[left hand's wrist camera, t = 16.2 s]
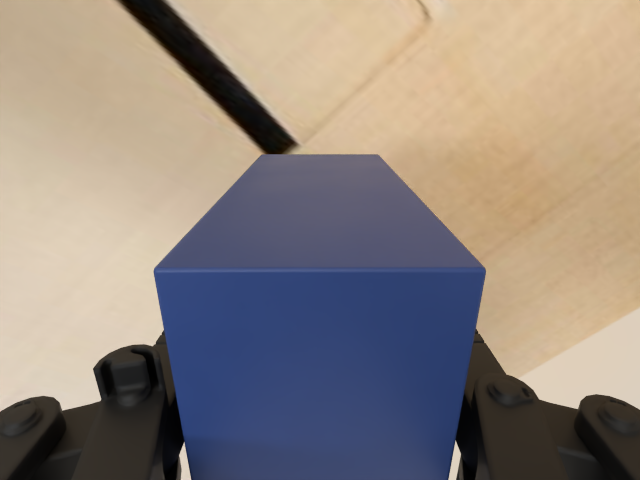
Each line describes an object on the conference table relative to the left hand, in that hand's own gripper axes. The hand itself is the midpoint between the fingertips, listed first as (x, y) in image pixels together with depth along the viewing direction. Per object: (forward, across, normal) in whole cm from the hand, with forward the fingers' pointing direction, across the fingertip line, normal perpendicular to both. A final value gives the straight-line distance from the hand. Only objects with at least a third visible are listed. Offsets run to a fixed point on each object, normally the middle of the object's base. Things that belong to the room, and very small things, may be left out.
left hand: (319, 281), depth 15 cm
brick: (+3, 0, 0) cm, 3 cm away
